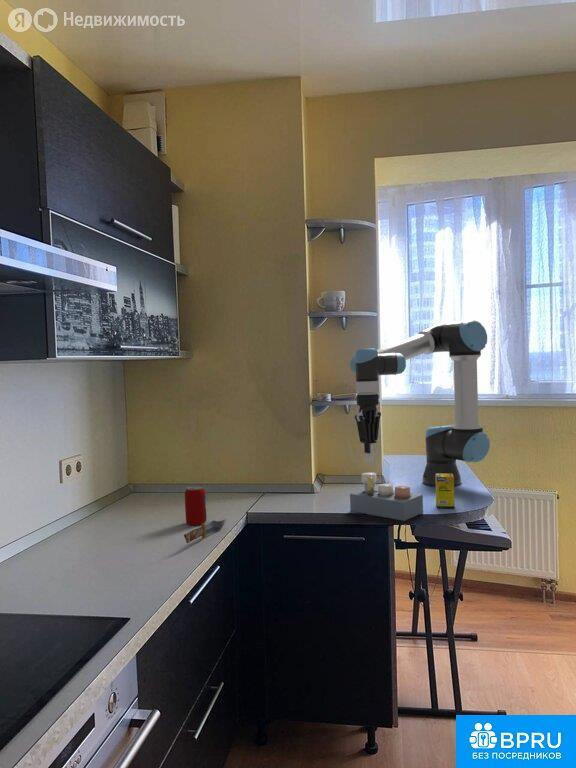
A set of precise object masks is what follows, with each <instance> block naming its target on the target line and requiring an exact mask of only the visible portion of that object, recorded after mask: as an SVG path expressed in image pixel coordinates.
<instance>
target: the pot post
mask: <svg viewBox="0 0 576 768" xmlns="http://www.w3.org/2000/svg"><path fill="white" fill-rule="evenodd" d="M367 481H368V496H374V488H375V484H374V481H373V477H368V478H367Z"/></svg>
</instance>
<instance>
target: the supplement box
mask: <svg viewBox="0 0 576 768" xmlns="http://www.w3.org/2000/svg"><path fill="white" fill-rule="evenodd" d="M435 480H436V486H435V504H436V506H435V507H436V509H456V508H455V485H454V476H453V474H435Z"/></svg>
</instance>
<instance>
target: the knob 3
mask: <svg viewBox="0 0 576 768" xmlns="http://www.w3.org/2000/svg"><path fill="white" fill-rule="evenodd" d="M394 491H395V497H396V498H402V499H406V498H410V493H411V487H410V486H407V485H397V486H394Z"/></svg>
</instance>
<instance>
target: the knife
mask: <svg viewBox="0 0 576 768" xmlns="http://www.w3.org/2000/svg"><path fill="white" fill-rule="evenodd" d="M226 521H227V518H225V519H222V520H219V521H218V520H212V521H209V522H207V523H206V524H205V523H202V524H201V525H200V527H196V528H194V529H192V530H191V531H189V532H187V533H184V535H183V537H184V539H185V543H187V544H190V543H191V542H193V541H195V540H197V539H198V538H200V537H201V539H202V540H204V539H205V538H206V536H207V535H209V534H211V533H217V532H219V531H221V530H222V528H223V527H224V526H225V523H226Z"/></svg>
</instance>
